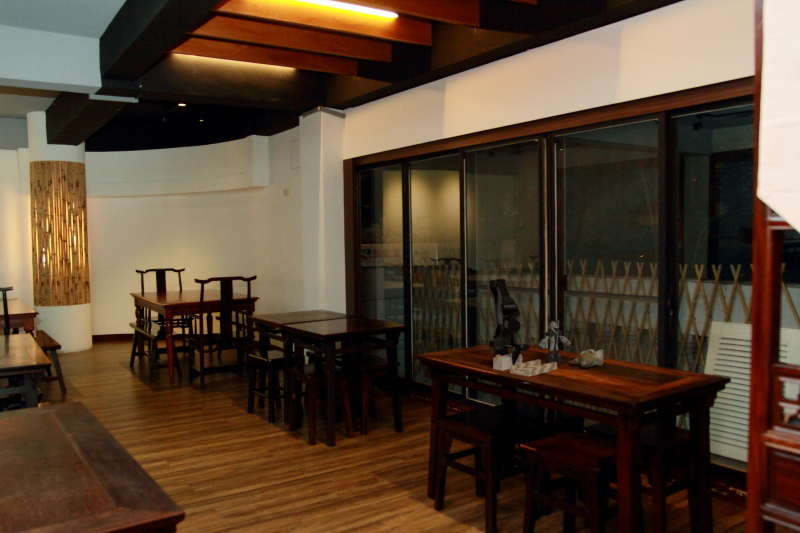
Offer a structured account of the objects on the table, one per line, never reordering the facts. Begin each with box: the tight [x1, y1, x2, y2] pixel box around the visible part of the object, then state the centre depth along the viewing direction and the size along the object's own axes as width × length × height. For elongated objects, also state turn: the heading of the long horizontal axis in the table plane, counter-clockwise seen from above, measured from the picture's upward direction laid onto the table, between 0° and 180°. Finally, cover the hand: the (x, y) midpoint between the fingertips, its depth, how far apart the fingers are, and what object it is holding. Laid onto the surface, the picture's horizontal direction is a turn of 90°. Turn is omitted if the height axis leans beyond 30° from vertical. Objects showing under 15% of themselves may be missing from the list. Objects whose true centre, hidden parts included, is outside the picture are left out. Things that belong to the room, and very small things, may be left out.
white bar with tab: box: [492, 353, 524, 372], centre depth 284 cm, size 17×5×6 cm, turn 132°
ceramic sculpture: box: [568, 347, 604, 368], centre depth 283 cm, size 11×9×15 cm
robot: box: [537, 318, 572, 364], centre depth 294 cm, size 20×5×20 cm, turn 122°
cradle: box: [509, 359, 558, 377], centre depth 275 cm, size 20×10×3 cm, turn 132°
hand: (508, 364), depth 285 cm, fingers closed on white bar with tab, 5 cm apart
